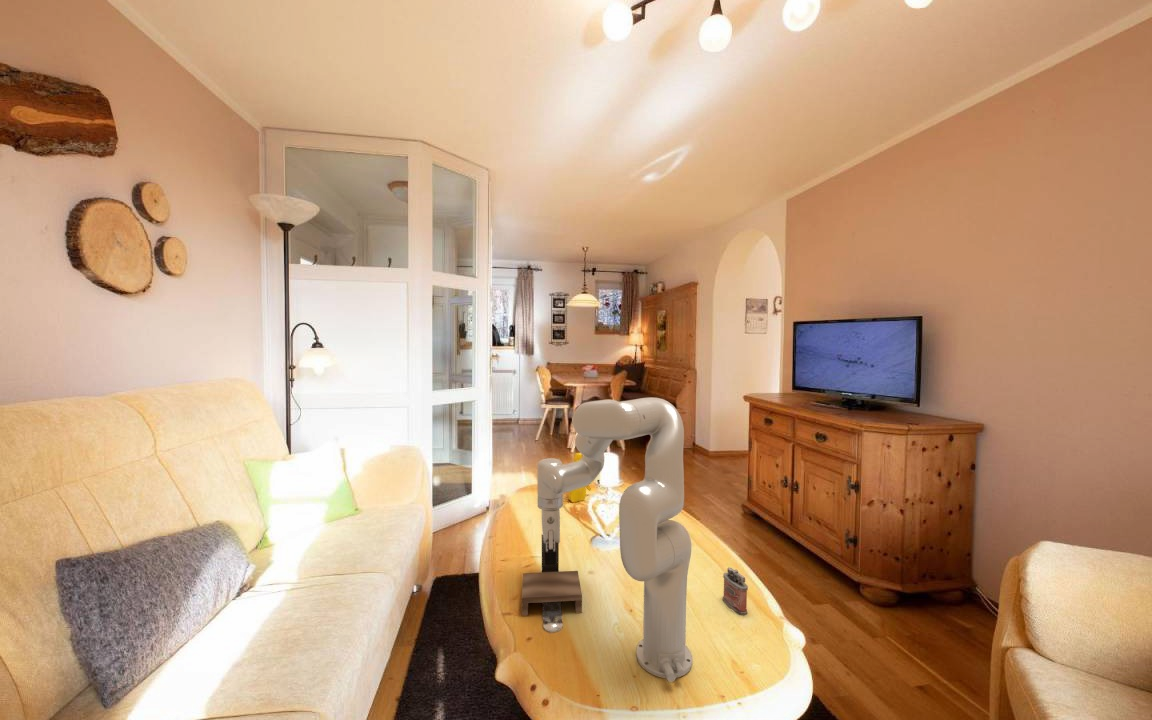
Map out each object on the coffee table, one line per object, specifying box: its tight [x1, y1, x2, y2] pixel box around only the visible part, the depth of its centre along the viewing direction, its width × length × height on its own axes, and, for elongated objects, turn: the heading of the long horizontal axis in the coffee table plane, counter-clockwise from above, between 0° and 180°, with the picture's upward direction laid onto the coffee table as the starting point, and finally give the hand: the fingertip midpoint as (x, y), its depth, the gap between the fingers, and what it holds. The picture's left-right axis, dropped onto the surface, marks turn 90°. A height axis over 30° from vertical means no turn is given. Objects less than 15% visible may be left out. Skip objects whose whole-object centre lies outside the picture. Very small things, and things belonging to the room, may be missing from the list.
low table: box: [521, 570, 583, 617], centre depth 121 cm, size 12×16×5 cm
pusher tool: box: [541, 533, 563, 621], centre depth 122 cm, size 19×5×14 cm, turn 5°
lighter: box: [722, 566, 749, 617], centre depth 119 cm, size 8×3×10 cm, turn 21°
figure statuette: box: [567, 452, 592, 503], centre depth 196 cm, size 18×8×22 cm, turn 118°
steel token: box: [542, 616, 564, 634], centre depth 111 cm, size 5×5×1 cm
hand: (550, 560), depth 130 cm, fingers closed on pusher tool, 3 cm apart
